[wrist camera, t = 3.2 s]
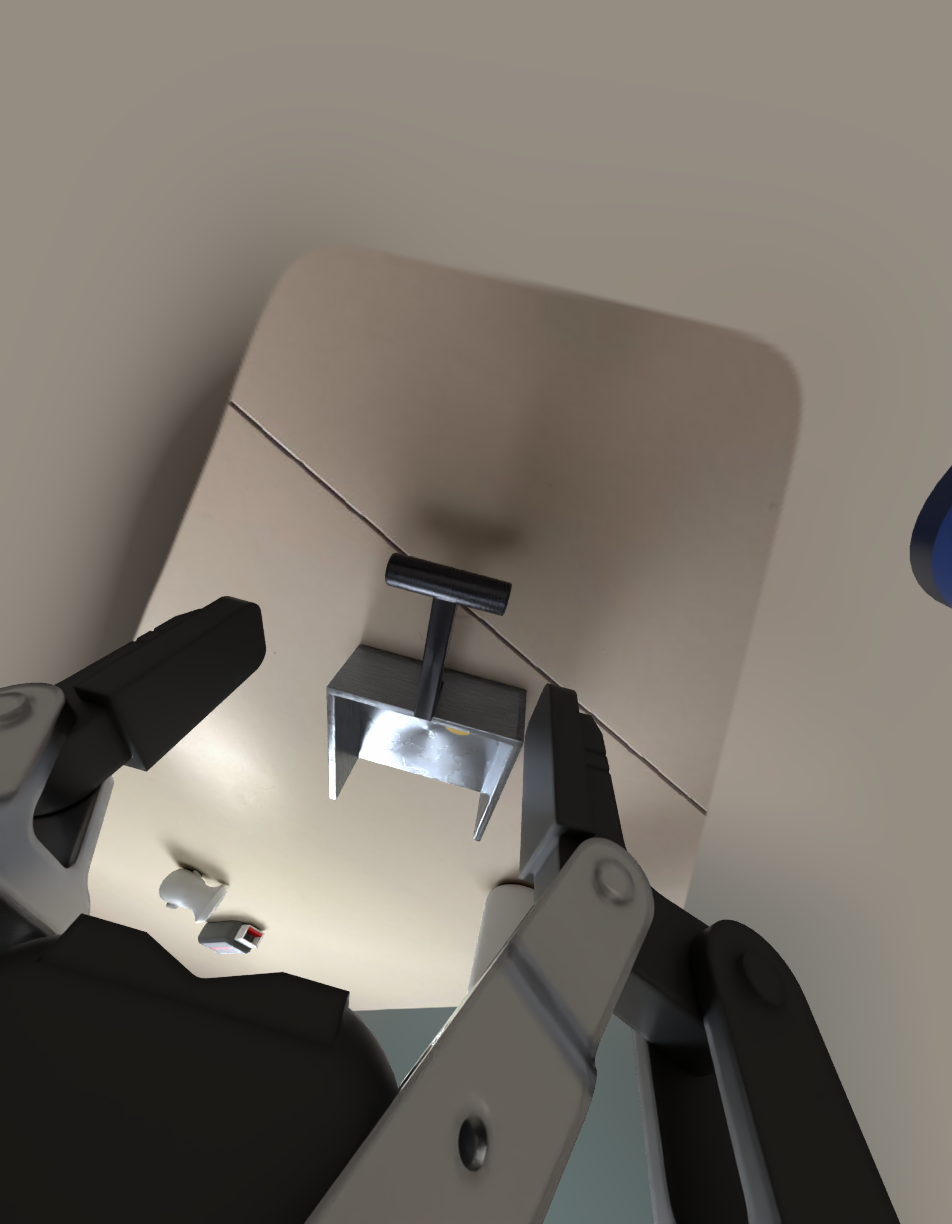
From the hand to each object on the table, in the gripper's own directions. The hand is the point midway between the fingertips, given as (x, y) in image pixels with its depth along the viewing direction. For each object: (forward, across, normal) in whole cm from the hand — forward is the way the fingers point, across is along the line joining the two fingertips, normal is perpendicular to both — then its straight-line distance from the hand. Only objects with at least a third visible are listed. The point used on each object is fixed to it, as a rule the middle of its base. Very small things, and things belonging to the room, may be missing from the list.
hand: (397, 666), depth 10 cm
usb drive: (+10, +24, +77) cm, 81 cm away
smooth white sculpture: (+10, +27, +58) cm, 64 cm away
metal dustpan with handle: (+9, 0, +9) cm, 13 cm away
